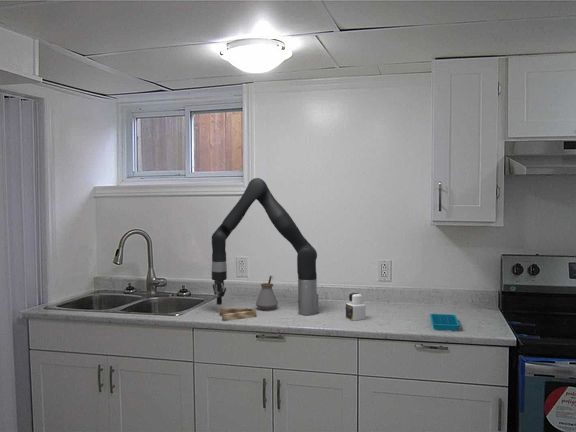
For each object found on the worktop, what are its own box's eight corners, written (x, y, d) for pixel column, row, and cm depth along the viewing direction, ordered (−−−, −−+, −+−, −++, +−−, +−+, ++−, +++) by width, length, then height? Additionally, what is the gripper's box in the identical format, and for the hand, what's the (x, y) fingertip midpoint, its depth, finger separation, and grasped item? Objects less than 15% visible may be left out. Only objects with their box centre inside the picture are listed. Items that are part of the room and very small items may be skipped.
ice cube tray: (431, 331, 228) (431, 324, 227) (429, 319, 247) (429, 313, 247) (459, 332, 225) (459, 325, 225) (455, 321, 245) (455, 314, 245)
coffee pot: (276, 311, 264) (276, 282, 263) (254, 311, 266) (253, 281, 265) (281, 302, 285) (281, 275, 285) (261, 302, 287) (260, 275, 286)
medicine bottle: (345, 317, 251) (345, 292, 250) (358, 316, 254) (358, 291, 253) (352, 321, 244) (352, 295, 244) (366, 319, 247) (366, 294, 246)
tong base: (255, 315, 257) (255, 308, 257) (258, 316, 254) (258, 309, 254) (221, 319, 248) (221, 312, 248) (223, 321, 245) (223, 314, 245)
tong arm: (254, 313, 258) (254, 308, 258) (254, 314, 256) (254, 309, 256) (220, 314, 258) (220, 308, 258) (219, 315, 256) (219, 309, 256)
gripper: (231, 271, 258) (231, 306, 259) (221, 267, 270) (221, 301, 271) (217, 272, 255) (217, 307, 255) (207, 268, 266) (207, 302, 267)
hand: (219, 304), depth 263 cm, fingers closed
